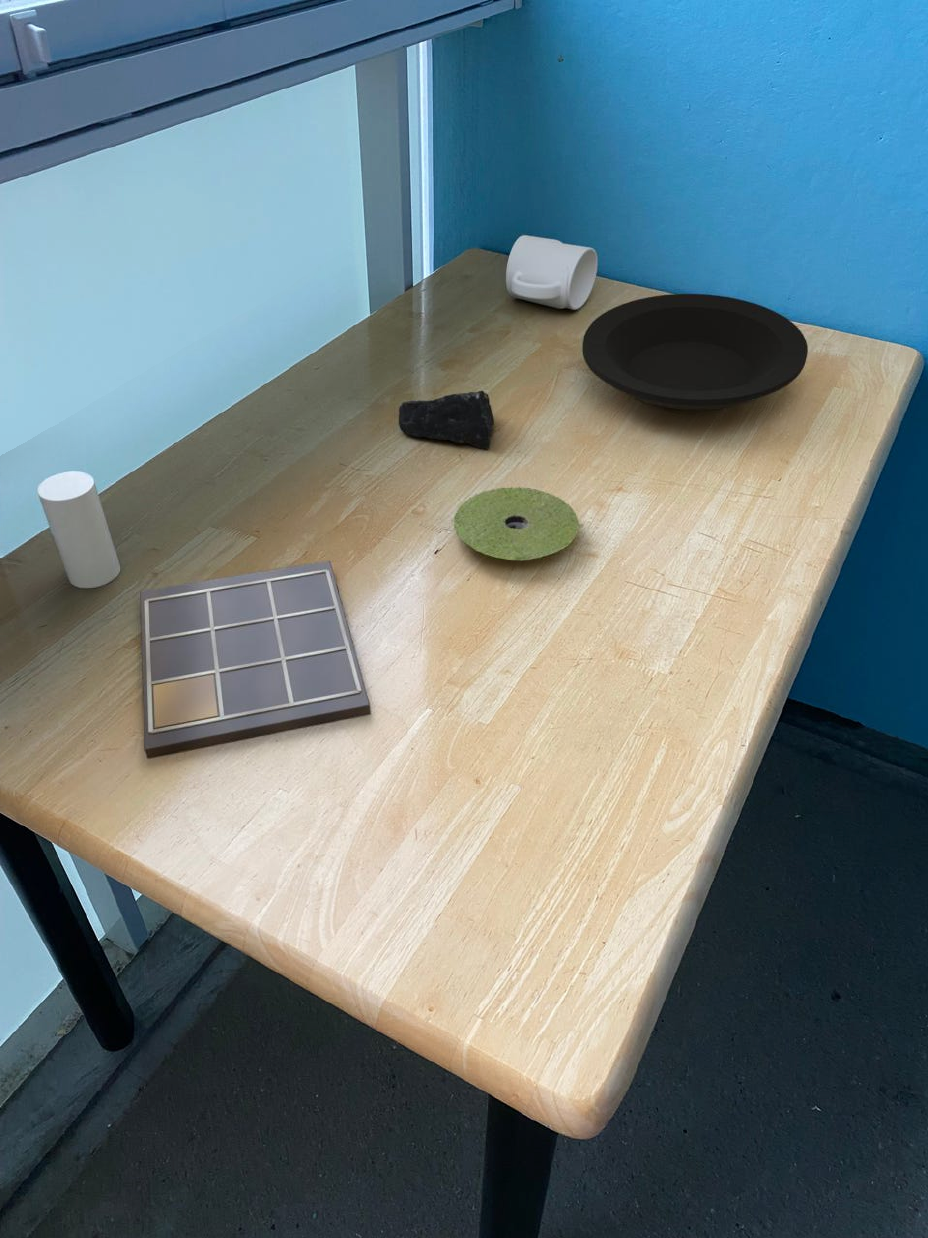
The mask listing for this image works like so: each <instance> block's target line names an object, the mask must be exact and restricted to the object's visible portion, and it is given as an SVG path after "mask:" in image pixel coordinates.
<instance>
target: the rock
mask: <svg viewBox="0 0 928 1238" xmlns="http://www.w3.org/2000/svg"><path fill="white" fill-rule="evenodd" d="M490 403H491V401H490V397H489V394H488V393H487V392H485V391H484V390H479V391H469V392H459V393H452V394H448V395H444V396H442V397H438V398H435V399H432V400H409V401H403V402H402V403H401V405H400V406H399V407H398V426H399V428H400V430H401V432H402V433H403V434H404V435H408V436H412V437H417V438H427V439H432V440H438V441H448V440H449V441H451V442H452V443H457V444H468V445H470V446H472V447H475V448H477V449H481V450H485V451H488V450H489V448H490V446H491V438H492V434H493V431H494V430H493V428H494V426H495V418H494V413H493V409H492V405H491V404H490Z"/></svg>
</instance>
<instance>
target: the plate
mask: <svg viewBox="0 0 928 1238" xmlns="http://www.w3.org/2000/svg"><path fill="white" fill-rule="evenodd" d="M581 346H582V348H581V350H582V351H581V352H582V357H583V360H584V362H585V365H586V366H587V367H588V368H589V369H590V371H591V372H592V373H593V374H594V375H595V376H596V377H597V378H598V379H600V380H601V381H603V382H604V383H605V384H608V385H609V386H611V387H612V388H614V389H615V390H618V391H620V392H622V393H624V394H626V395H628V396H630V397H632V398H634V399H637V400H639V401H641V402H644V403H647V404H650V405H654V406H659V407H663V408H668V409H674V410H684V411H685V410H686V411H707V410H717V409H724V408H729V407H734V406H737V405H740V404H743V403H748V402H750V401H754V400H758V399H760V398H763V397H766V396H769V395H771V394H774V393H776V392H778V391H780V390H782V389H784V388H785V387H787V386H788V385H790V384H791V383H793V382H794V381H795V380H796V379H797V377H799V375H800V374H801V373H802V371H803V370H804V368H805V366H806V362H807V359H808V353H809V346H808V341H807V339H806V336H805V335H804V333H803V332H802V330H800V329H799V327H798V326H797V325H796V324H795V323H794V322H792V321H791V320H789V319H788V318H787V317H785V316H784V315H782V314H780V313H778V312H776V311H775V310H773V309H770V308H768V307H766V306H763V305H760V304H757V303H754V302H750V301H747V300H743V299H739V298H736V297H729V296H723V295H717V294H716V295H715V294H706V293H705V294H704V293H672V294H671V293H670V294H661V295H660V294H659V295H654V296H648V297H644V298H643V297H642V298H638V299H634V300H631V301H628V302H625V303H622V304H619V305H617V306H615V307H613V308H610V309H609V310H607V311H605V312H603V313H602V314H600V315H599V316H597V318H595V319H594V321H592V322H591V323H590V325H588V327H587V329H586V330H585V331H584V335H583V339H582V345H581Z"/></svg>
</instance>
